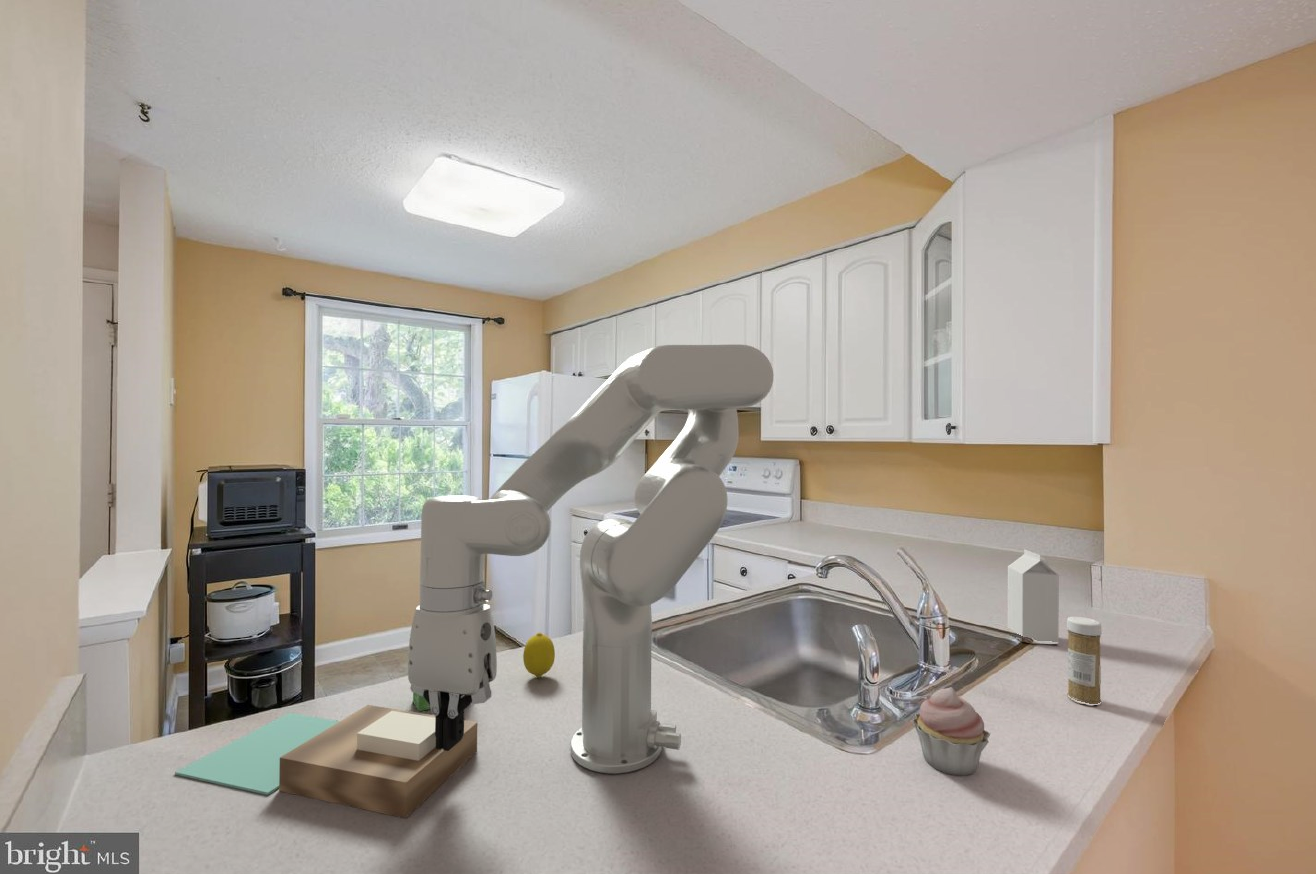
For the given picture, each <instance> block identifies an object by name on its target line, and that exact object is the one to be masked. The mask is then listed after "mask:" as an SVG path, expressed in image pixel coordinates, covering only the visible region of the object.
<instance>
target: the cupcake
mask: <svg viewBox="0 0 1316 874" xmlns="http://www.w3.org/2000/svg"><path fill="white" fill-rule="evenodd" d="M914 716H915V718H913V719H912V720H911V722H912V724H913V726H914V729H915V731H916V733H917V737H918V740H919V743H920V747H921V751H922V755H923V758H924V760H925V762H927V763H928V765H930V766H931V767H932V768H934V769H935V770H938V771H940V772H942V773H946V774H949V775H954V776H961V777H962V776H970V775H974V773H976V771H977V769H978V767H979V763H980V760H981V756H982V752H983V750H984V749H985V748H986V747H987V745H988V744H989V743H990V742H989V737H990V736H991V733H990V732H989V731H987V730H985V722H984V720H983V717H982V715H980V714H979V713H978V712H977V711H976V709H975V708H974V707H973V706H972V705H971V704H970V703H969V702H968V701H966V700H965V699H964V698H962V697H961V696H958V695H957V692H956V691H955V689H954V687H952V686H950V687H947V688H940V689H939V690H937V691H935V692H933V693H932V694H931V695H930V697H929V698H927V699H926V700H924V701H922V703H921V705H920V707H919V712H916V713H914Z"/></svg>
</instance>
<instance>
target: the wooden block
mask: <svg viewBox="0 0 1316 874" xmlns="http://www.w3.org/2000/svg"><path fill="white" fill-rule="evenodd" d="M391 711H396V712H403V713H409V714H415V715H421V716H428V717H434V718H435V716H434V715H432V714H427V713H421V712H415V711H411V710H410V711H409V710H403V709H396V708H389V707H385V706H376V705H372V704H371V705H370V704H367V705H365V706H364V707H362V708H360V709H359V710H357V711H355V712H353V713H352V714H350V715H348V716H347V717H345V718H343V719H341V720H339V721H340V722H338V723H337V724H335V725H333V726H332V727H330V728H328V729H327V730H325V731H323V732H322V733H320V734H318V735H317V736H315V737H313V738H312V739H310V740H308V741H307V742H305V743H303V744H301V745H300V746H298V747H296V748H295V749H293V750H291V751H290V752H288V753H286V754H285V755H283V756H281V757H280V770H279V788H278V789H279V790H278V791H279V792H282V793H283V792H284V793H288V794H293V795H296V796H301V797H306V798H309V799H310V798H311V799H316V800H320V801H325V802H329V803H334V804H338V805H343V806H348V807H351V808H357V809H361V810H366V811H371V812H376V813H381V814H385V815H389V816H394V817H398V818H403V819H407V818H408V817H409V816H410V815H411V814H412V813H413V812H414V811H416V809H417V808H419V807H420V806H421V805H422V804H423V803H424V802H425V801H426V800H427V799H428V798H429V797H430V796H431V795H433V794H434V793H435V792H436V791H437V789H439V788H440V787H441V786H442V785H443V784H444V783H445V782H447V780H448V779H449V778H450V777H452V776H453V775H454V774H455V773H456V772H457V771H458V770H459V769H460V768H461V767H462V766H463V765H464V764H465V763H467V762H468V761H469V760H470V759H471V758H472V757H473V756H474V755H475V754H476V753H477V752H478V721H472V720H465V719H464V734H463V737H462V739H461V741H459V742H458V743H457V744H456V745H455V746H454V747H452V748H451V749H450V750H449V751H445V750H443V749H441V750H439V749H436V747H435V748H434V749H433V750H431V751H430V752H429V753H428V754H426V755H425V756H424V757H423V758H422V759H420V760H419V761H417V760H412V759H406V758H401V757H396V756H390V755H385V754H379V753H374V752H368V751H363V750H357V733H358V732H360V731H361V730H363V729H364V728H366V727H367V726H369V725H371V724H372V723H374V722H375V721H377V720H378V719H380V718H381V717H383V716H384V715H386V714H388V713H389V712H391Z"/></svg>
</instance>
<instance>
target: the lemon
mask: <svg viewBox="0 0 1316 874" xmlns="http://www.w3.org/2000/svg"><path fill="white" fill-rule="evenodd" d="M555 657H556V652H555V645H554V643H553V640H552V639H551V638H550V636H548V635H546V634H543V633H542V632H538V633H536V634H534V635H533V636H531V637H530V638H528V640H527V642H526V644H525V645H524V648H523V654H522V658H523V659H522V660H523V665H524V668H525V670H526V671H527V672H528V673H529V674H531V675H533V676H535V677H536V678H537V679H540V678H542V676H543V675H545V674H547V673H548V672H549V671H550V670H551V669H552V667H553V665H554V662H555Z"/></svg>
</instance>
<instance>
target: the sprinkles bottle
mask: <svg viewBox="0 0 1316 874" xmlns="http://www.w3.org/2000/svg"><path fill="white" fill-rule="evenodd" d="M1066 629H1067V632H1068V634H1067V635H1068V636H1067V638H1068V639H1067V640H1068V641H1067V642H1068V643H1067V644H1068V646H1067V678H1068V680H1067V682H1068V687H1067V690H1068V692H1067V696H1068V695H1069V696H1070V697H1071V698H1073V699H1075V700H1077V701H1081V702H1085V703H1089V704H1098V703H1100V702H1101V703H1102V699H1101V685H1102V670H1101V669H1102V667H1101V637H1102V636H1101V635H1102V623H1101V622H1099V621H1098V620H1096V619H1092V618H1089V617H1083V616H1069V617H1068V618H1067V619H1066Z"/></svg>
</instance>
